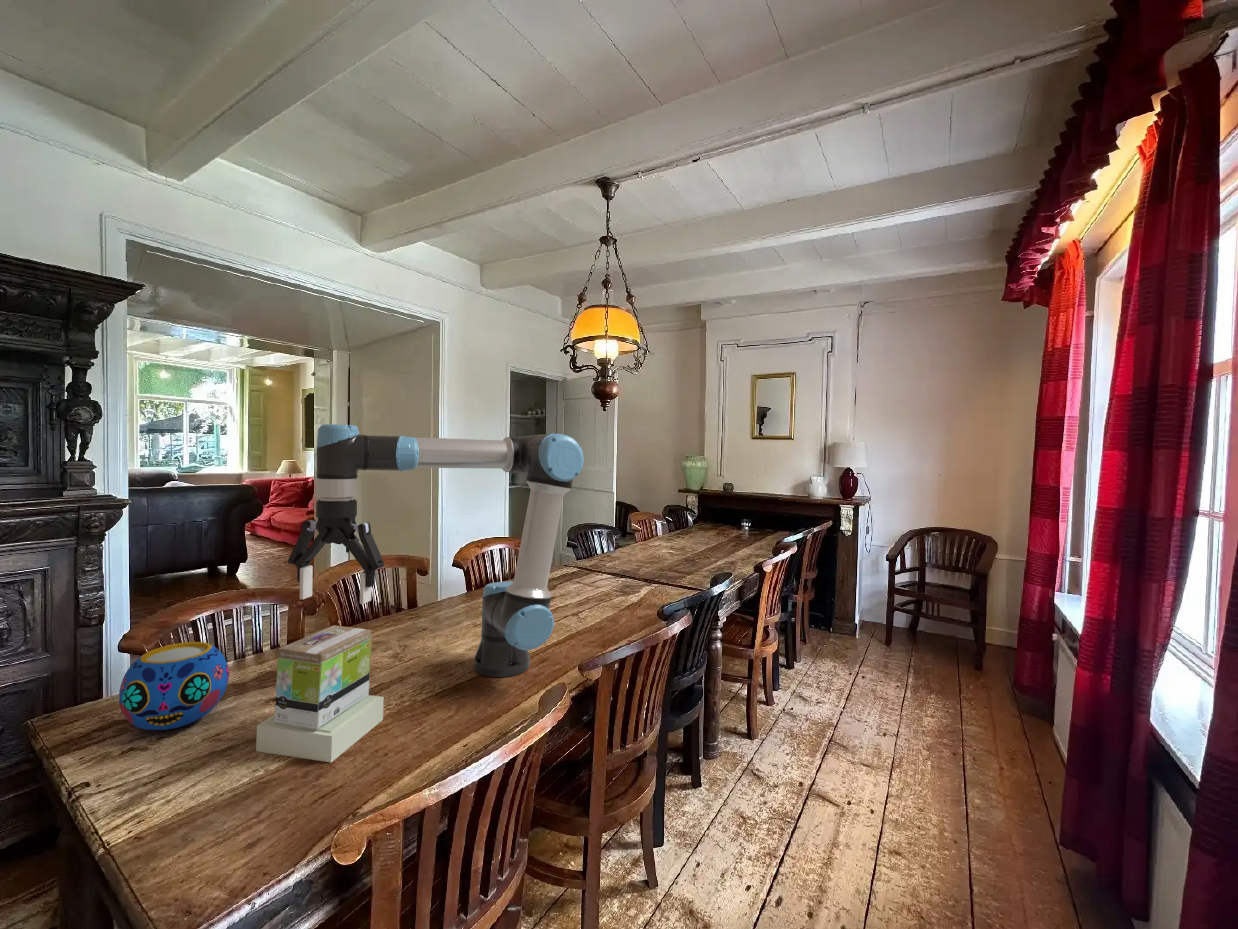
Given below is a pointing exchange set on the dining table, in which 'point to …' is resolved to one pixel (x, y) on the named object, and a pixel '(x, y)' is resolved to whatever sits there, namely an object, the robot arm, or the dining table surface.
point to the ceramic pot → (173, 685)
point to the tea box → (322, 676)
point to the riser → (321, 733)
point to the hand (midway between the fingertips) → (335, 600)
